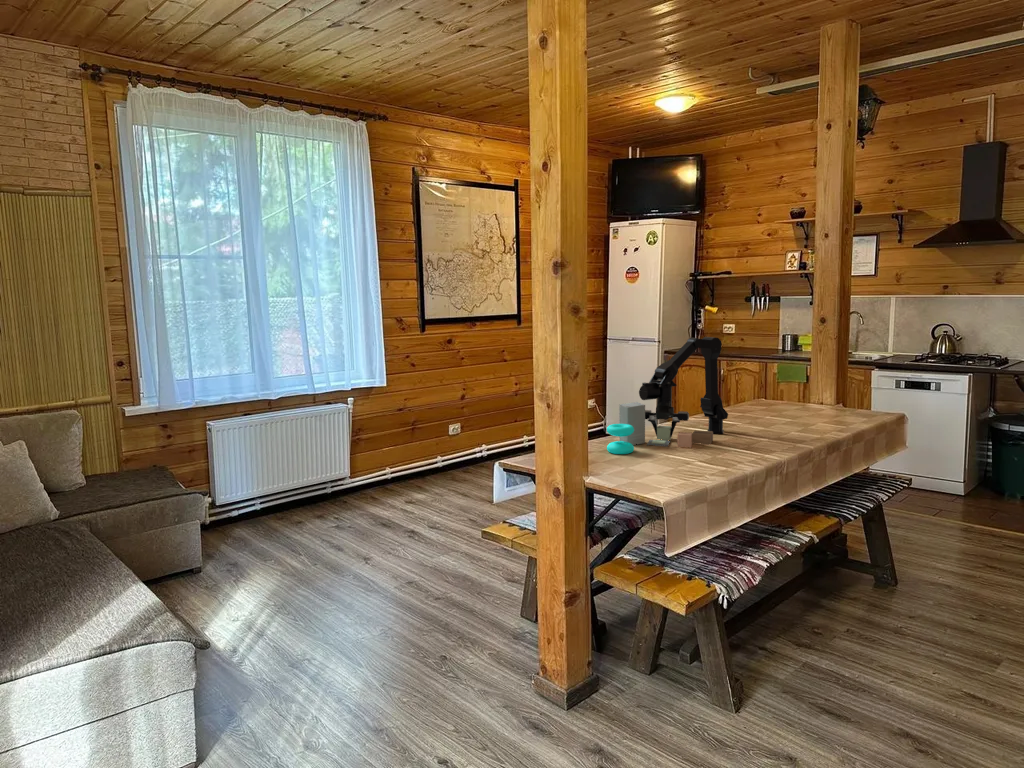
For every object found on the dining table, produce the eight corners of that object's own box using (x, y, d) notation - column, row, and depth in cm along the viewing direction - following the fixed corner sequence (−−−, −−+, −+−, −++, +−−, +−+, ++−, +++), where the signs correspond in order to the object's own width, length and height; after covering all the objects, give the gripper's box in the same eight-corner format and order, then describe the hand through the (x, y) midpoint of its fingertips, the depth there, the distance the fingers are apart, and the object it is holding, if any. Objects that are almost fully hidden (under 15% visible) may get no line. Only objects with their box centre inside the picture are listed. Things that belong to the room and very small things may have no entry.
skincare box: (636, 440, 281) (636, 401, 279) (646, 444, 274) (646, 404, 272) (618, 443, 278) (617, 403, 276) (627, 446, 271) (627, 405, 269)
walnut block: (694, 440, 281) (694, 430, 280) (712, 441, 278) (713, 431, 278) (691, 443, 275) (691, 433, 274) (710, 445, 272) (710, 434, 271)
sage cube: (658, 437, 286) (658, 425, 285) (671, 438, 285) (671, 426, 284) (656, 440, 281) (657, 428, 281) (669, 441, 280) (669, 428, 279)
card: (649, 441, 280) (649, 439, 280) (670, 442, 277) (670, 440, 277) (646, 445, 272) (646, 443, 272) (668, 446, 270) (668, 444, 270)
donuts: (602, 426, 260) (613, 422, 268) (602, 453, 261) (613, 448, 269) (628, 429, 255) (638, 424, 263) (628, 456, 256) (637, 450, 264)
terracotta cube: (678, 444, 273) (678, 432, 272) (691, 445, 271) (692, 432, 271) (677, 447, 268) (677, 434, 268) (690, 448, 267) (691, 435, 266)
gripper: (637, 400, 276) (637, 439, 278) (686, 401, 270) (686, 442, 272) (641, 396, 287) (641, 434, 289) (689, 397, 281) (688, 436, 283)
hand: (664, 436), depth 283 cm, fingers open, 5 cm apart
